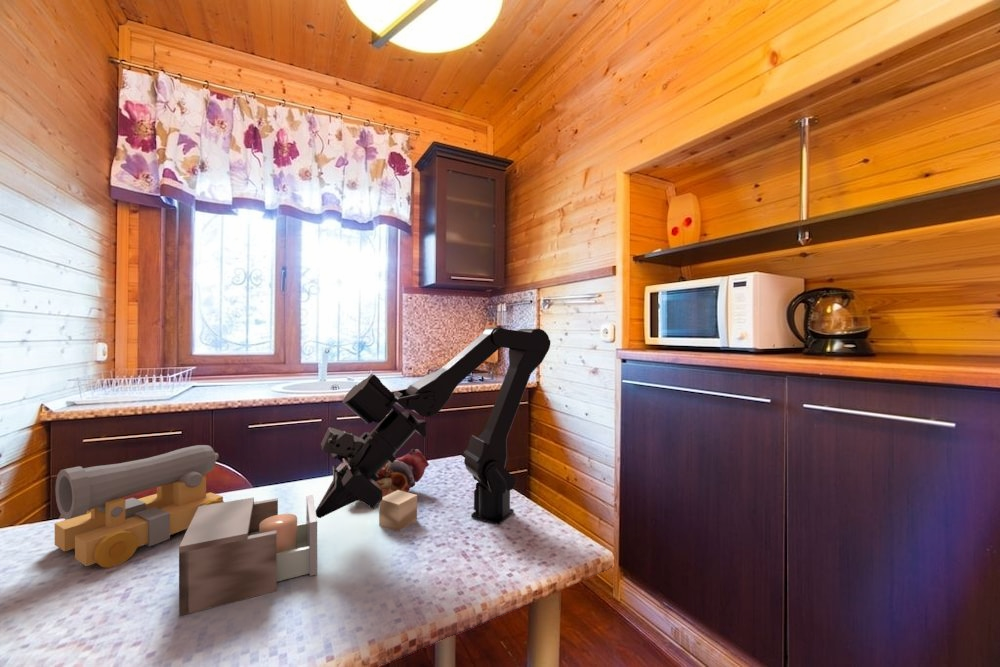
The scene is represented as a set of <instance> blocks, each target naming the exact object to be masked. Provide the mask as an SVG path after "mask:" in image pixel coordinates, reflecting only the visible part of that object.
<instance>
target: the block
mask: <svg viewBox="0 0 1000 667" xmlns="http://www.w3.org/2000/svg"><path fill="white" fill-rule="evenodd" d="M378 508H379V510H378V514H379V515H378V518H379V519H378V524H379V526H381V527H384V528H387V529H390V530H393V531H395V532H401V531H402V530H403V529H404V530H405V528H408V527H409V526H411V525H412V524H414V523H415V522H417V521H418V495H417V494H414V493H410V492H409V491H408V492H404V491H400V490H397V491H395V492H393V493H390V494H388V495H386V496H384V497H382V501H381V502H380V503H379V504H378Z"/></svg>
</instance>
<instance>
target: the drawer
mask: <svg viewBox="0 0 1000 667" xmlns="http://www.w3.org/2000/svg"><path fill="white" fill-rule="evenodd" d="M317 518H318V517H317V516H316V506H315V499H314V495H313V494H310V495H307V496H306V521H305V522H301V523H297V549H294V550H289V551H285V552H280V553H276V583H277V582H281V581H285V580H289V579H292V578H293V579H294V578H297V577H300V576H303V575H304V576H305V575H308V574H309V576H310V577H311V576H314V575H315V576H316V575H318V519H317ZM255 534H259V531H258V532H253V533H248V536H250V535H255Z"/></svg>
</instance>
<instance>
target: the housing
mask: <svg viewBox="0 0 1000 667" xmlns="http://www.w3.org/2000/svg"><path fill="white" fill-rule="evenodd" d="M278 498H279V497H275V498H270V499H264V500H259V501H255V497H248V498H243V499H237V500H236V499H235V500H229V501H224V502H223V503H217V504H210V505H204V506H199V507H198V509H197V511H196V513H195V515H194V517H193V519H192V521H191V523H190V525H189V527H188V528H187V529H186V531H185V533H184V536H183V538H182V540H181V541H180V543H179V546H178V616H179V617H181V616H185V615H189V614H192V613H197V612H200V611H204V610H207V609H208V610H209V609H212V608H216V607H220V606H224V605H227V604H230V603H234V602H235V603H236V602H239V601H243V600H247V599H250V598H253V597H258V596H262V595H265V594H270V593H273V592H277V582H276V530H275V531H270V532H265V533H260V534H255V535H250V536H248V533H253V532H258V531H259V525H260V523H261V522H262V521H263V520H265V519H266V518H269V517H271V516H275V515H279V511H278V510H279V501H278V500H279V499H278Z"/></svg>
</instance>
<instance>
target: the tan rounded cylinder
mask: <svg viewBox="0 0 1000 667" xmlns="http://www.w3.org/2000/svg"><path fill="white" fill-rule="evenodd" d="M297 524H298V516H297V515H296V514H293V513H281V514H280V513H278V515H275V516H271V517H269V518H266V519H265V520H263V521H262V522H261V523H260V525H259V534H260V533H265V532H270V531H275V530H276V553H280V552H285V551H289V550H294V549H297Z"/></svg>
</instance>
